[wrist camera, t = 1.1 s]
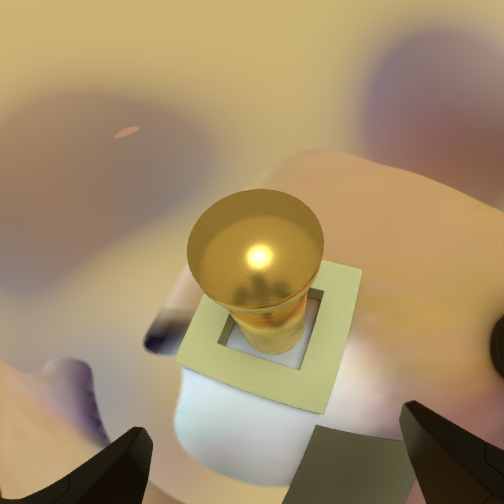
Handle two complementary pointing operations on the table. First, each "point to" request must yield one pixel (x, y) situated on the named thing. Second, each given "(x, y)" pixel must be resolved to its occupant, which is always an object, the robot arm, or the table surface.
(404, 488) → the mat
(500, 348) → the camera lens
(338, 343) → the housing
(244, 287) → the brass cover
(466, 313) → the table surface
